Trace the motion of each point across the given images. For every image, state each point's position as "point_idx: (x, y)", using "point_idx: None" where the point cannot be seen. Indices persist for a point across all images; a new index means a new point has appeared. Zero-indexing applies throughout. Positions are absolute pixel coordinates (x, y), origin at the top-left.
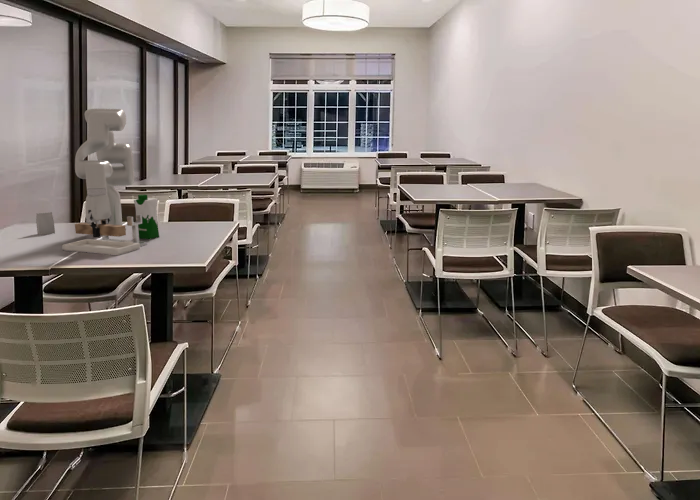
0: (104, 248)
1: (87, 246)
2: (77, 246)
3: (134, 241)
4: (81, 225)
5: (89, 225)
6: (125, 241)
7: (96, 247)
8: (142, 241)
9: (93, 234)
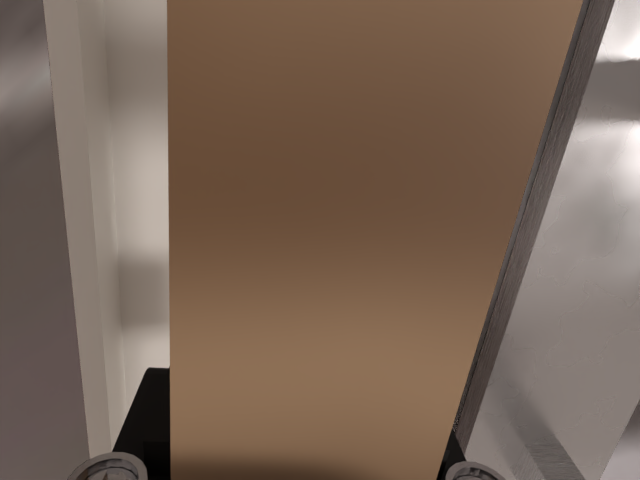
0: (91, 457)
1: (91, 241)
2: (56, 82)
3: (526, 471)
4: (173, 60)
5: (171, 382)
6: (607, 345)
7: (86, 373)
8: (602, 471)
9: (145, 376)
